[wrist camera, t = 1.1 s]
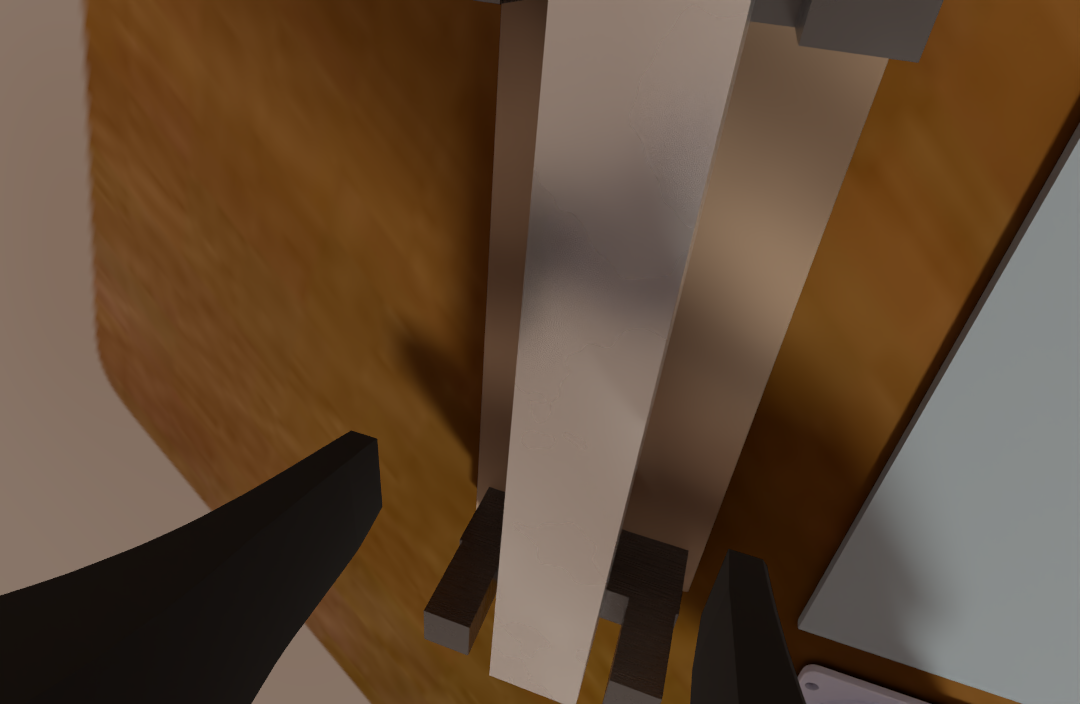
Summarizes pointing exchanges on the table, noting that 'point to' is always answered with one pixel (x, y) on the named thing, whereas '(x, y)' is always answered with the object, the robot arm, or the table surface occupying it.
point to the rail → (600, 301)
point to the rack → (683, 300)
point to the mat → (984, 489)
